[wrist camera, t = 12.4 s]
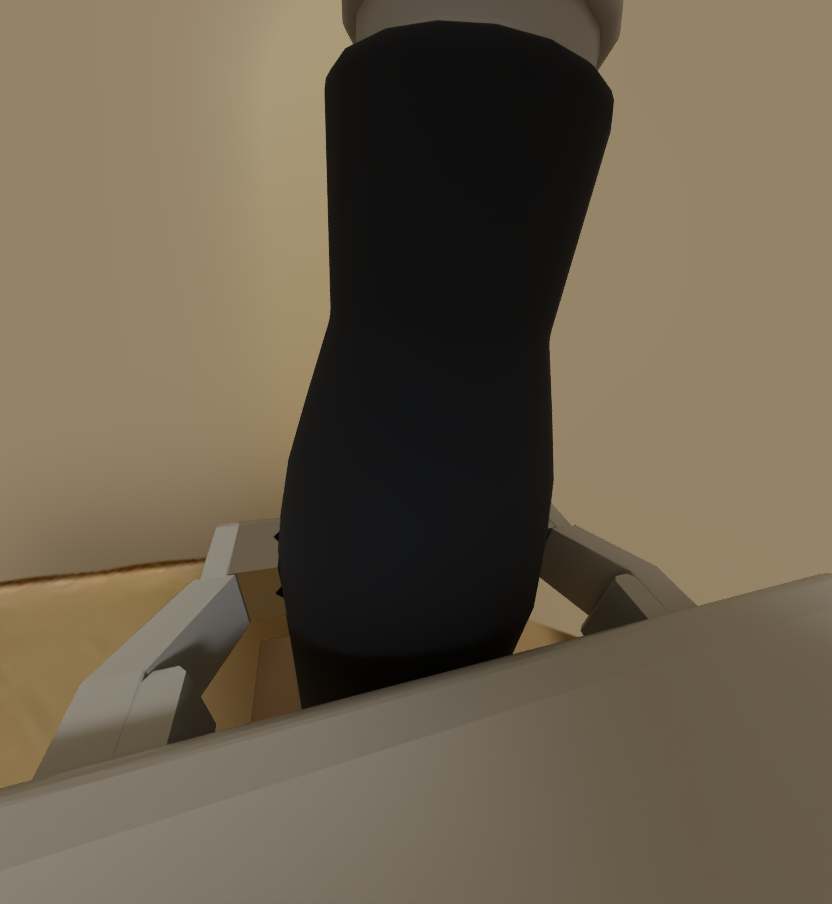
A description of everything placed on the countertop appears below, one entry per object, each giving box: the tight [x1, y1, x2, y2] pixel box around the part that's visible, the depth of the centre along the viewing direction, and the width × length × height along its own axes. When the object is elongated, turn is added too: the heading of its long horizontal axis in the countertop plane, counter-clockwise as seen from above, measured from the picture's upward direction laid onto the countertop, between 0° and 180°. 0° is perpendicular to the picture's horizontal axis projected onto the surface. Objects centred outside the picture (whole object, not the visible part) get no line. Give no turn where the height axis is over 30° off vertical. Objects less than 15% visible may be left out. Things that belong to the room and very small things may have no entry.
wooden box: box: [251, 636, 302, 723], centre depth 18 cm, size 13×13×6 cm
